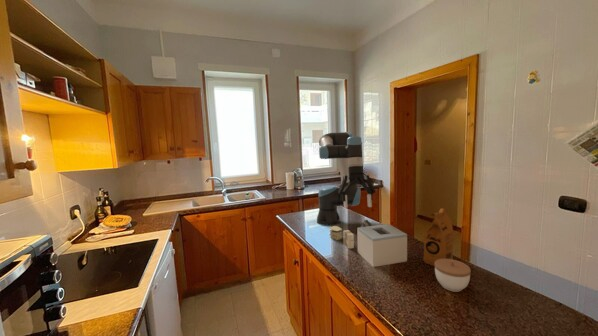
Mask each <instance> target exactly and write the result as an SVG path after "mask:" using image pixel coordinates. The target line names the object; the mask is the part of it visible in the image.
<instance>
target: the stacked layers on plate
mask: <svg viewBox="0 0 598 336" xmlns="http://www.w3.org/2000/svg"><path fill="white" fill-rule="evenodd" d="M329 229H330V230H329V232H330V233H329V236H330V237H329V238H330V239H334V240H335V241H339V240H342V239H343V234H342V233H343V231H342V230H343V229H342V228H341V227H340V226H338V225H332V226H331V227H329Z"/></svg>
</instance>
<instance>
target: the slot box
mask: <svg viewBox="0 0 598 336" xmlns="http://www.w3.org/2000/svg"><path fill="white" fill-rule="evenodd" d="M356 236H357V237H356V238H357V253H358V255H360V256H361V257H362V259H364V260H365V261H366V262H367V263H369V264H370V266H371V267H372V268H374V267H380V266H381V267H382V266H386V265H393V264H398V263H405V262H407V261H408V234H407V233H406V232H404V231H402V230H400V229H398V228H397V227H395V226H393V225H392V224H390V223H385V224H375V225H372V226H367V227H361V226H360V227H357V235H356Z"/></svg>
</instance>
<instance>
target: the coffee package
mask: <svg viewBox="0 0 598 336" xmlns="http://www.w3.org/2000/svg"><path fill="white" fill-rule="evenodd" d="M430 216H431V217H433V218H434V219H433V220H432V223H431V225H430V226H429V227H428V228H427V230H426V231H425V234H424V237H423V262H424V263H425V264H427V265H430V266H431V267H432V266H433V267H435V265H434V264H435V261H436V260H438V259H453V260H454V230H453V229H454V228H453V227H454V226H453V223H452V220H451V219H450V217H449V216H448V214H447V211H446V210H445V208H440V209H439V211H438V212H433V213H432V214H430Z"/></svg>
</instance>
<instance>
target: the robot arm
mask: <svg viewBox="0 0 598 336" xmlns="http://www.w3.org/2000/svg"><path fill="white" fill-rule="evenodd" d="M318 146H319V147H318V153H319V159H320V160H329V159H331V160H333V159H338V160H339V172H340V184H339V185H338V186H339V187H338V186H337V185H326V186H322V187H320V188H319V189H318V214H317V216H316V222H317V224H319V225H320V226H321V225H323V226H337V225H338V224H340V223H341V218H340V214H339V211H338V207H343V209H348V207H354V206H359V204H360V201H361V197H362V196H361V195H362V194H361V193H362V192H361V190H362V189H361V187H360V186H358V185H361V186H362V188H363V189H364V190H365V191H366V193H367V194H366V198H367V199H366V200H367V207H368V208H372V207H373V205H372V204H373V203H372V202H373V195H374V194H375V193H376V189H375V187H374V185H373V183H372V180H370V179H371V178H370V175H369V174H367V175H365V174H364V162H363V161H364V159H363V141H362V137H361V136H358V135H355V136H354V134H353V133H352V132H349V131H345V132H343V131H342V132H329V133H326V134H323V135H322V136H321V137H320V138H319V141H318ZM364 180H365V181H364Z"/></svg>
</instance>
